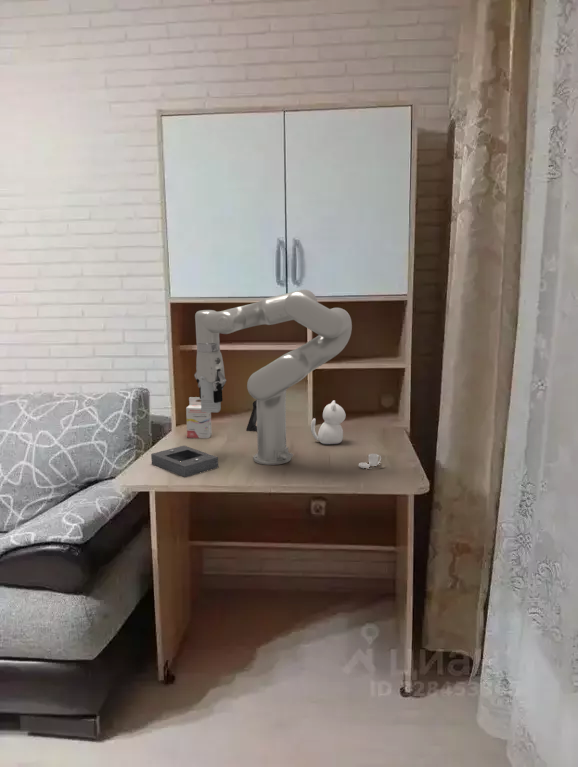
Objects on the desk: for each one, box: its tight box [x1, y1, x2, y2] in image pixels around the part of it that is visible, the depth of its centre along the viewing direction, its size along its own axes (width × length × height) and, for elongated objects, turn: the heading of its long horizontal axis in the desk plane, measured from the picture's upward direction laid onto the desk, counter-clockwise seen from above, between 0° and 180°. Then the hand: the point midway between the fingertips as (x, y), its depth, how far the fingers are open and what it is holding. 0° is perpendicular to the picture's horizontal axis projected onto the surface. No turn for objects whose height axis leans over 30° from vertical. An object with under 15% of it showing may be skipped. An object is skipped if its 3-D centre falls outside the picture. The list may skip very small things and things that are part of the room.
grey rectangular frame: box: [150, 445, 219, 478], centre depth 221 cm, size 19×13×4 cm
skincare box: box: [200, 376, 222, 413], centre depth 227 cm, size 6×4×12 cm
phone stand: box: [246, 399, 257, 432], centre depth 262 cm, size 9×6×12 cm, turn 74°
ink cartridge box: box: [185, 396, 213, 439], centre depth 254 cm, size 9×5×15 cm, turn 84°
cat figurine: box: [310, 400, 347, 445], centre depth 242 cm, size 9×12×15 cm
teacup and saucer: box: [358, 453, 382, 469], centre depth 217 cm, size 9×8×4 cm
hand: (211, 400), depth 228 cm, fingers closed on skincare box, 7 cm apart
